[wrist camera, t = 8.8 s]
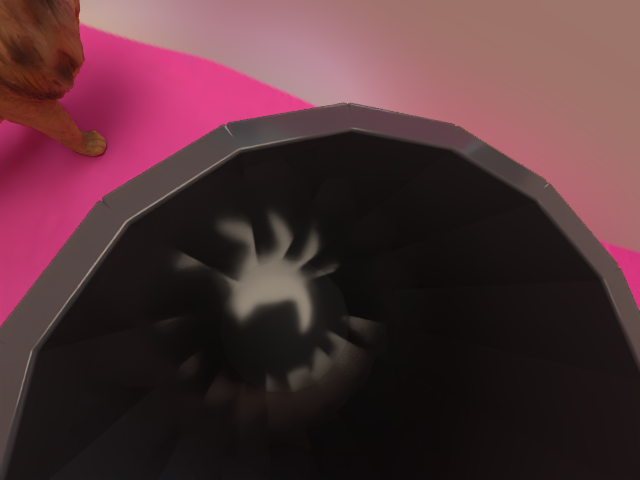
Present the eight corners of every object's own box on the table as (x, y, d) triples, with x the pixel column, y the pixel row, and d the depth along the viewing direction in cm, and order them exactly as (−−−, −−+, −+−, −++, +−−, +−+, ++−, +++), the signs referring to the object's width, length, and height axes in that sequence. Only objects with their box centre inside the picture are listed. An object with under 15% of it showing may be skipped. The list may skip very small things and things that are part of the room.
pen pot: (346, 398, 15) (739, 868, 3) (204, 393, 14) (-262, 1180, 1) (355, 262, 16) (640, 161, 4) (226, 248, 15) (73, 43, 3)
